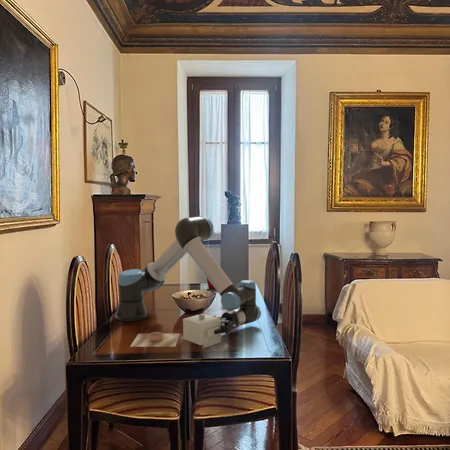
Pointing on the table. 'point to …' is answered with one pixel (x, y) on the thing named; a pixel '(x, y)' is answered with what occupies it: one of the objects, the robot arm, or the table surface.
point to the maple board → (143, 341)
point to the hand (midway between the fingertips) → (196, 329)
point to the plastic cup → (210, 284)
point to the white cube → (201, 329)
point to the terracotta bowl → (156, 336)
